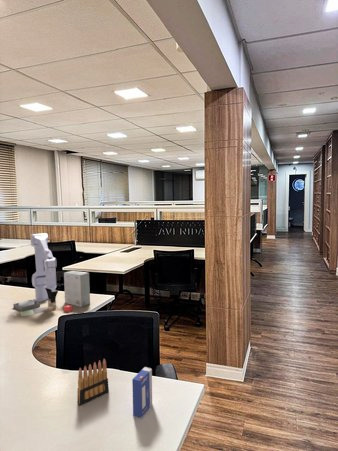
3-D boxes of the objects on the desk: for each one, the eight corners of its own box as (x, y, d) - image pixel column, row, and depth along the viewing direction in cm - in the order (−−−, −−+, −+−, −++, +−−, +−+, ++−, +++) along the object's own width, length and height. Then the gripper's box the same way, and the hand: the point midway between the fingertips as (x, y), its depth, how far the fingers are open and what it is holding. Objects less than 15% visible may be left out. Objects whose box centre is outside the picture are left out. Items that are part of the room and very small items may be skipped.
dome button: (30, 303, 204) (29, 299, 204) (37, 306, 198) (37, 302, 198) (15, 307, 197) (15, 303, 197) (22, 310, 191) (22, 306, 191)
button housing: (30, 303, 206) (30, 299, 205) (39, 307, 199) (39, 303, 198) (13, 308, 197) (13, 304, 197) (22, 312, 190) (21, 307, 190)
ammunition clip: (80, 406, 103) (78, 370, 102) (77, 403, 104) (76, 367, 103) (109, 392, 110) (108, 358, 109) (106, 390, 111) (105, 356, 110)
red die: (67, 310, 192) (67, 304, 192) (71, 310, 191) (71, 305, 191) (64, 312, 189) (63, 306, 189) (68, 312, 188) (68, 306, 188)
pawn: (54, 306, 198) (54, 298, 198) (56, 308, 194) (55, 300, 194) (48, 308, 196) (47, 300, 196) (49, 310, 192) (48, 301, 192)
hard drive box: (90, 303, 204) (89, 272, 202) (81, 307, 197) (80, 275, 196) (73, 300, 212) (72, 270, 210) (64, 303, 206) (63, 272, 204)
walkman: (141, 418, 97) (140, 380, 96) (133, 415, 98) (132, 378, 97) (153, 403, 104) (152, 367, 103) (145, 401, 105) (144, 365, 104)
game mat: (56, 305, 201) (56, 305, 201) (59, 309, 193) (59, 309, 193) (19, 311, 190) (19, 311, 190) (21, 316, 183) (21, 316, 183)
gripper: (41, 277, 198) (42, 298, 199) (45, 282, 185) (46, 305, 186) (53, 275, 201) (54, 296, 203) (58, 280, 189) (59, 303, 190)
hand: (51, 300), depth 195 cm, fingers open, 7 cm apart
